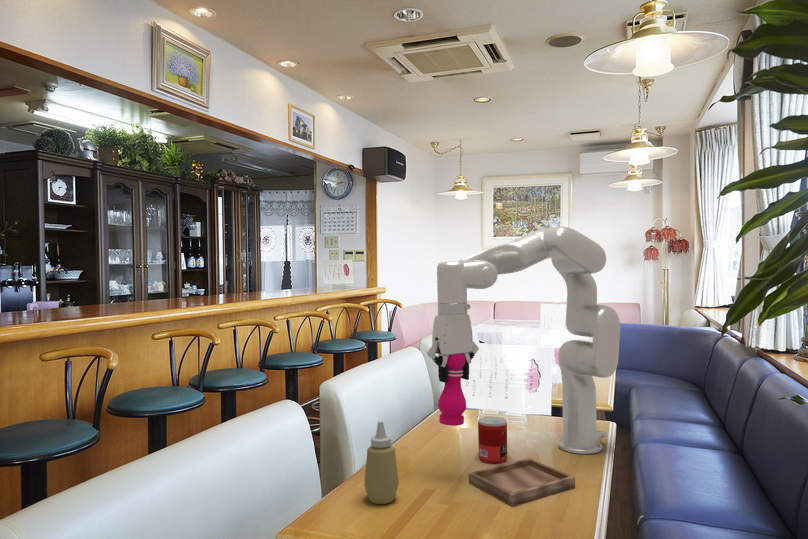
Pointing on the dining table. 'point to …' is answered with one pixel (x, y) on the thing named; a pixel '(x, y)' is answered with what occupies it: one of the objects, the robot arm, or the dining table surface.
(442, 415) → the pepper mill
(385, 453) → the squeeze bottle
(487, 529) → the dining table surface
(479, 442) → the canned food
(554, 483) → the walnut tray
